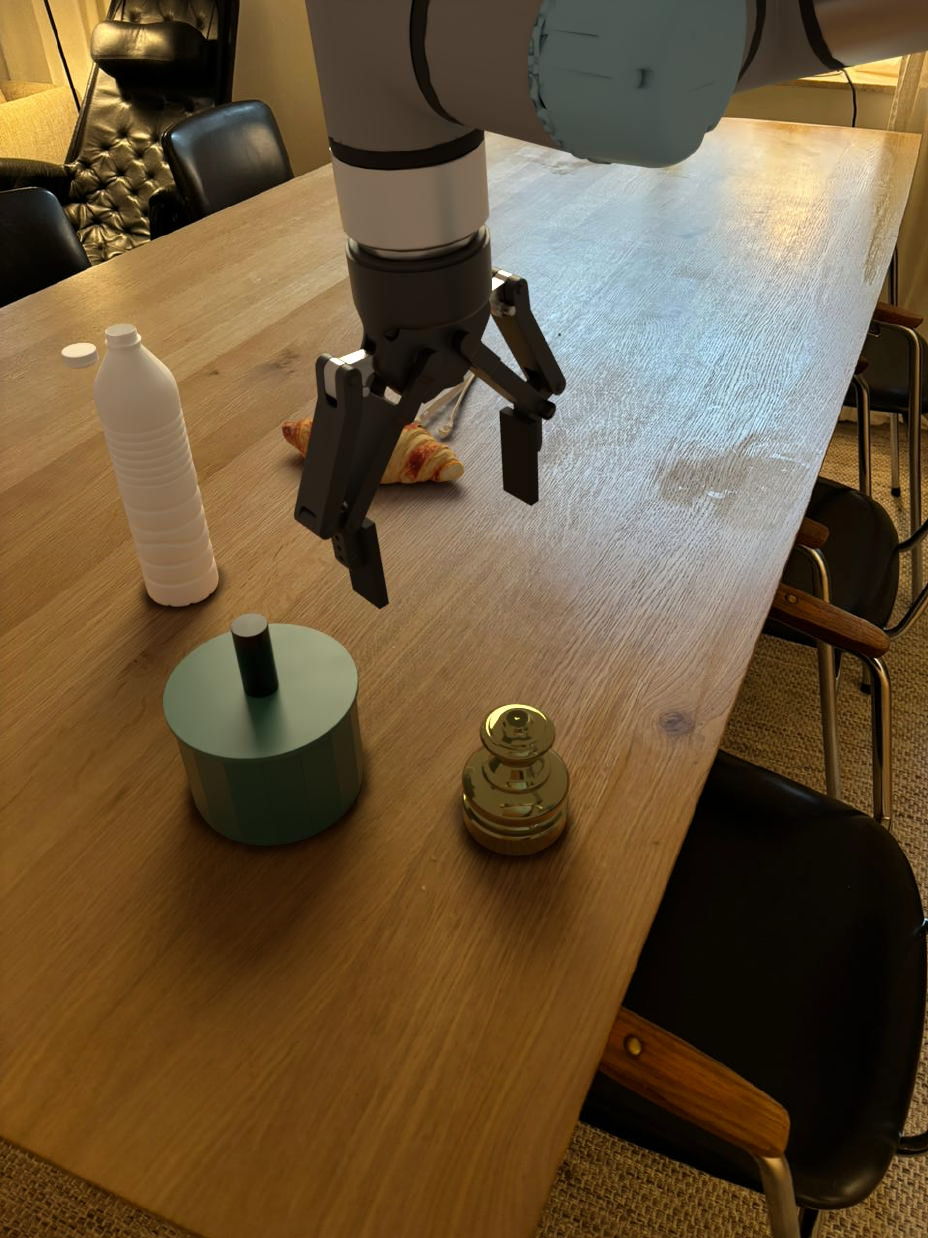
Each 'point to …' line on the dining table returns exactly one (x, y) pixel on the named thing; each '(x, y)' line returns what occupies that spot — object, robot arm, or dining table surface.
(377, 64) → the robot arm
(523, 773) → the brass calibration weight
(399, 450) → the croissant
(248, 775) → the pot
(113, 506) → the dining table surface
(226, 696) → the pot lid
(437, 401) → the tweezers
